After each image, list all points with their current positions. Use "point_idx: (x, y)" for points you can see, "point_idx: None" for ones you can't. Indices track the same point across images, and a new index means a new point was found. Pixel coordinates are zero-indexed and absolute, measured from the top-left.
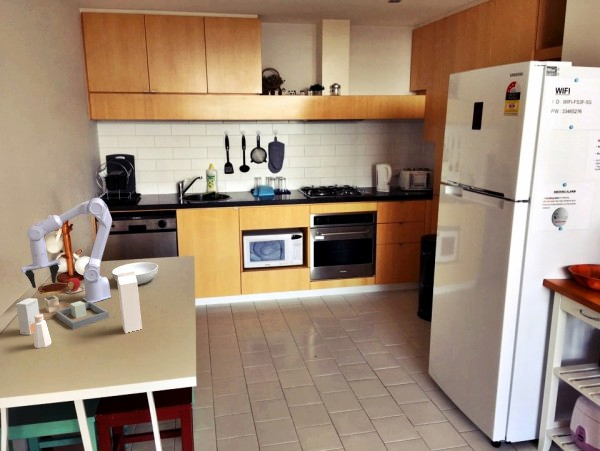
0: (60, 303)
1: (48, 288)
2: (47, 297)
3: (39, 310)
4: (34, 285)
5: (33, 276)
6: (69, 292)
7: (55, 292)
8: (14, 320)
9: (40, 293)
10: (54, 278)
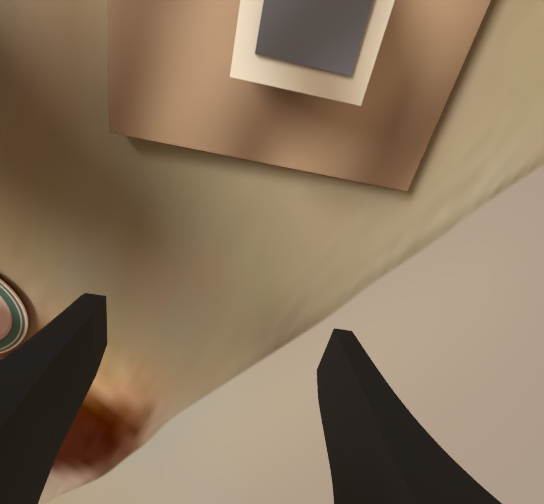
0: (164, 102)
1: (89, 437)
2: (320, 85)
3: (367, 115)
4: (359, 351)
5: (423, 486)
6: (5, 295)
7: None
8: (535, 153)
9: (152, 412)
10: (59, 335)
